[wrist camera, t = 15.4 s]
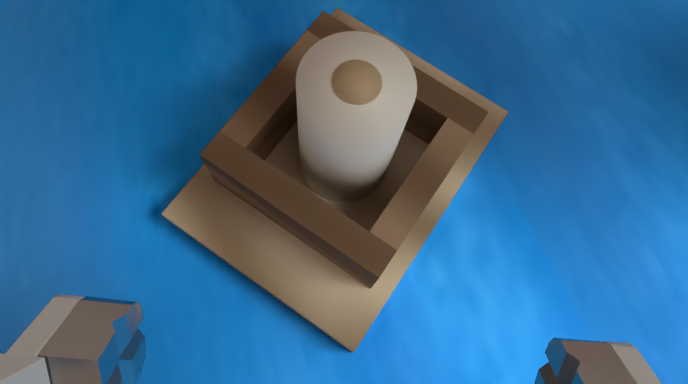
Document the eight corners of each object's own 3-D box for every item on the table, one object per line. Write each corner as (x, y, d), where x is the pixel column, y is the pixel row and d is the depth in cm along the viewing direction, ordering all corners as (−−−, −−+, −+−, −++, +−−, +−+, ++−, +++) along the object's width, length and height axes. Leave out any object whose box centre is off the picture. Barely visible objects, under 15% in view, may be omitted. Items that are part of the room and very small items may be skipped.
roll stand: (336, 20, 32) (340, -36, 27) (501, 121, 30) (533, 79, 26) (167, 220, 27) (138, 192, 22) (351, 352, 25) (359, 350, 21)
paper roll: (332, 105, 28) (340, 10, 21) (403, 150, 28) (439, 70, 20) (281, 169, 27) (270, 93, 19) (356, 219, 26) (375, 160, 19)
